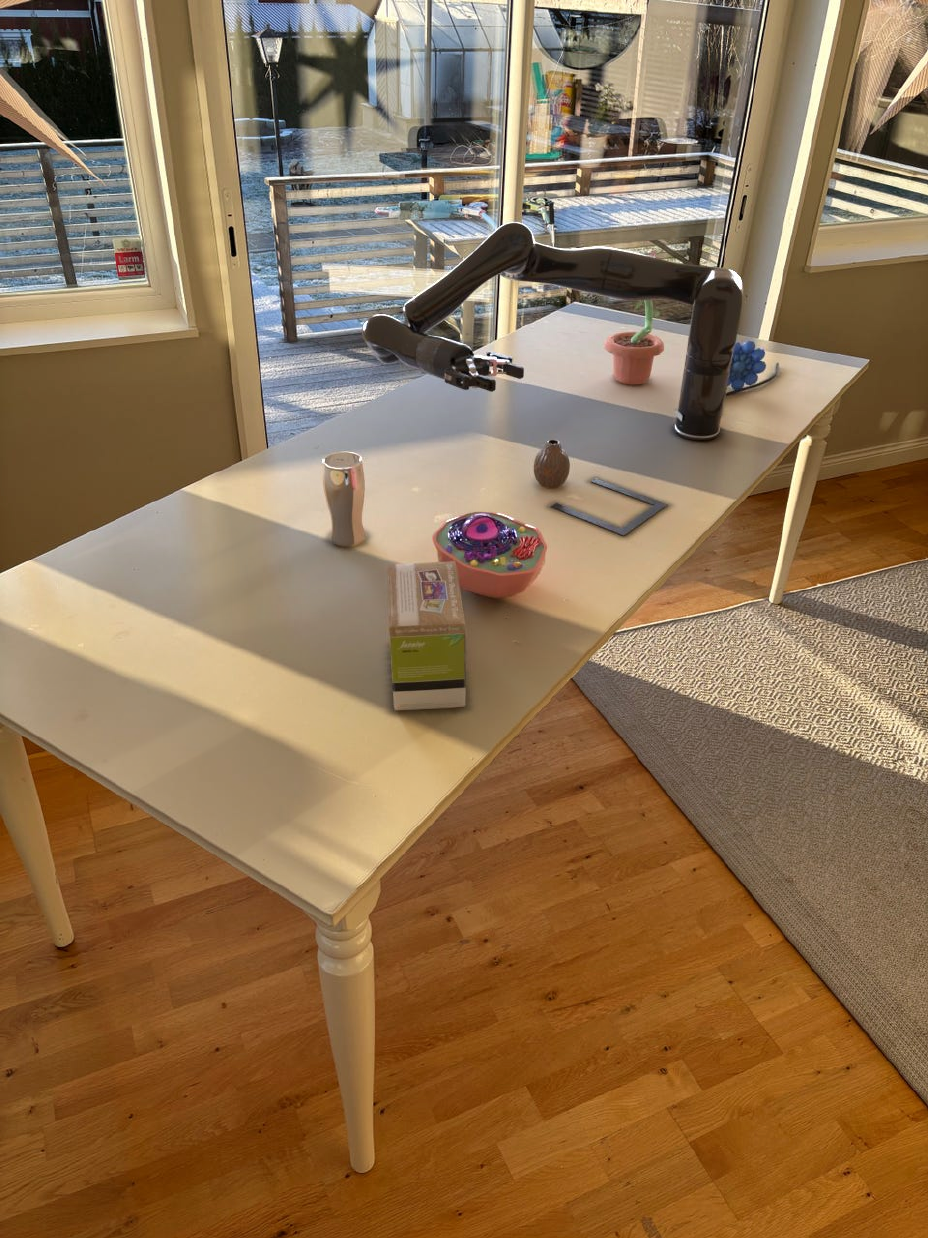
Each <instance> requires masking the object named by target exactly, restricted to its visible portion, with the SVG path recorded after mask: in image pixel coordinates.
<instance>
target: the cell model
mask: <svg viewBox="0 0 928 1238" xmlns="http://www.w3.org/2000/svg"><path fill="white" fill-rule="evenodd" d="M432 543H433V545H434V547H435V549H436V553H437V560H438V561H437V562H449V561H455V562H456V566H457V572H458V579H459V586H460V590H463V591H467V592H471V593H474V594H477V595H480V596H484V597H488V598H490V599H495V600H502V599H507V598H510V597H513V596H516V595H518V594H521V593H523V592H524V591H526V589H527V588H529V587H530V586H532V585H533V584H534V582H535V581H536V580H537V579H538V576H539V575H540V574H541V571H542V569H543V567H544V565H545V563H546V553H547V551H548V545H547V542H546V541H545V539H544V537H543V534H542V532H541V531H540V529H538V528H537V527H535V526H532V525H529V524H527V523H525V522H522V521H519V520H517V519H515V518H513V517H511V516H509V515H507V514H503V513H498V512H492V511H474V512H467V513H464V514H461V515H459V516H455V517H452V518H450V519H448V520H446V521H444V523H443V524H442V525H441V526H440V527H439V528H438V529H437V530H435V532H434V533H433V535H432Z"/></svg>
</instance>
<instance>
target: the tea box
mask: <svg viewBox="0 0 928 1238" xmlns="http://www.w3.org/2000/svg"><path fill="white" fill-rule="evenodd" d="M387 604H388V605H387V607H388V608H387V609H388V611H387V612H388V635H389V636H388V637H389V652H390V653H389V654H390V666H391V670H390V671H391V683H392V685H391V686H392V695H393V696H392V697H393V699H392V700H393V708H394V711H397V712H398V711H415V710H433V709H436V710H437V709H451V708H452V709H453V708H463V707H465V706H466V621H465V614H464V607H463V601H462V594H461V589H460V586H459V579H458V572H457V566H456V562H455V561H449V562H439V561H433V562H418V563H417V562H416V563H395V564H390V563H388V564H387Z"/></svg>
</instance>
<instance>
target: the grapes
mask: <svg viewBox="0 0 928 1238" xmlns="http://www.w3.org/2000/svg"><path fill="white" fill-rule="evenodd" d="M765 356H766V351H765V349H764V348H762V347H758V348H756V344H755V342H754V341H752V340H746V341H745V342H743V344H741V343H740V342H737V341H736V343H735V347H734V352H733V357H732V362H731V368H730V374H729V379H728V385H727V387H729V386H730V387H731V389H732V391H734V390H737V389H740V388H743V387H745V385H746V386H751V385H754V384H757V383H758V380H759V375H760V374H762V373H764V371H765V370H766V368H767V364H766V362H765V361H764V360H763V359H764V358H765Z"/></svg>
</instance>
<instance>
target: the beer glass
mask: <svg viewBox="0 0 928 1238" xmlns="http://www.w3.org/2000/svg"><path fill="white" fill-rule="evenodd" d="M365 480H366V479H365V471H364V464H363V458H362V456H361V455H360V454H358V453H355V452H352V451H336V452H335V451H334V452H331V453H329V454H327V455H326V456H324V457H323V458H322V487H323V493H324V497H325V502H326V505H327V509H328V513H329V516H330V520H331V521H330V522H331V530H330V541H331V543H332V544H334V545H336V546H338V547H343V548H351V547H355V546H358V545H361V544H362V543H363V542H364V541H365V540H366V532H365V528H364V524H363V511H364V510H363V509H364V503H365V494H366V493H365V492H366V481H365Z"/></svg>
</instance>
